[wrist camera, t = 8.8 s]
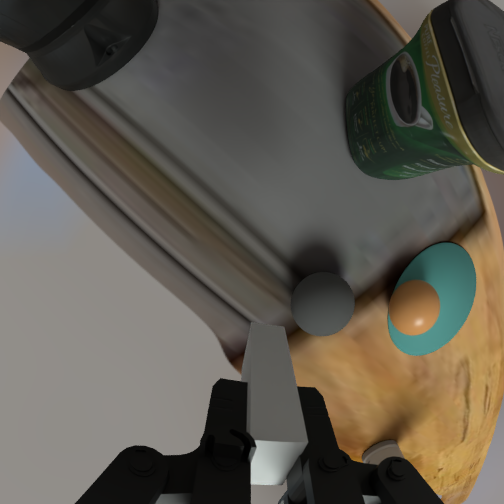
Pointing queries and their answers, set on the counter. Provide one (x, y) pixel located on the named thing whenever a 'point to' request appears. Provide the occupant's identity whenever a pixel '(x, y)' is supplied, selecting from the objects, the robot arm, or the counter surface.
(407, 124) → the coffee jar
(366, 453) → the travel mug
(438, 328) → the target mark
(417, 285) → the orange ball
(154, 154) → the counter surface
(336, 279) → the dark gray ball
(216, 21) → the counter surface
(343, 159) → the counter surface
